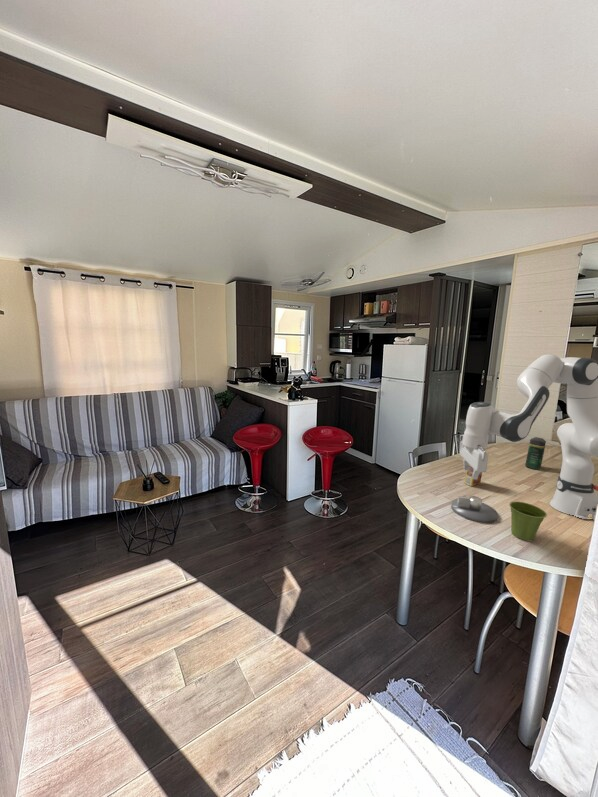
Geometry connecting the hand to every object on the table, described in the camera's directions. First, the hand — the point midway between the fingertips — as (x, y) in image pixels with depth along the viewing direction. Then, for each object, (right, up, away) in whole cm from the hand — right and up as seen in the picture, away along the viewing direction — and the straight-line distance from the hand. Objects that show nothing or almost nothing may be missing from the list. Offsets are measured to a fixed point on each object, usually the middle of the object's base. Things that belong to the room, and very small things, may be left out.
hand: (470, 474), depth 136 cm
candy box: (+21, -14, +38) cm, 46 cm away
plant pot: (+16, -22, -8) cm, 29 cm away
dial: (+4, -16, +8) cm, 19 cm away
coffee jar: (+74, -11, +67) cm, 100 cm away
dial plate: (+6, -18, +8) cm, 21 cm away
